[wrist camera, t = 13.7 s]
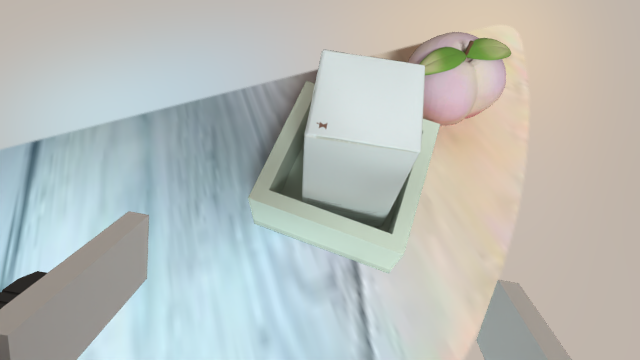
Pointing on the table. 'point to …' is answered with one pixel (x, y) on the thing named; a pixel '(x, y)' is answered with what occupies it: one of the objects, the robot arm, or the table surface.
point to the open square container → (323, 226)
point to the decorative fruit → (460, 75)
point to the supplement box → (362, 134)
